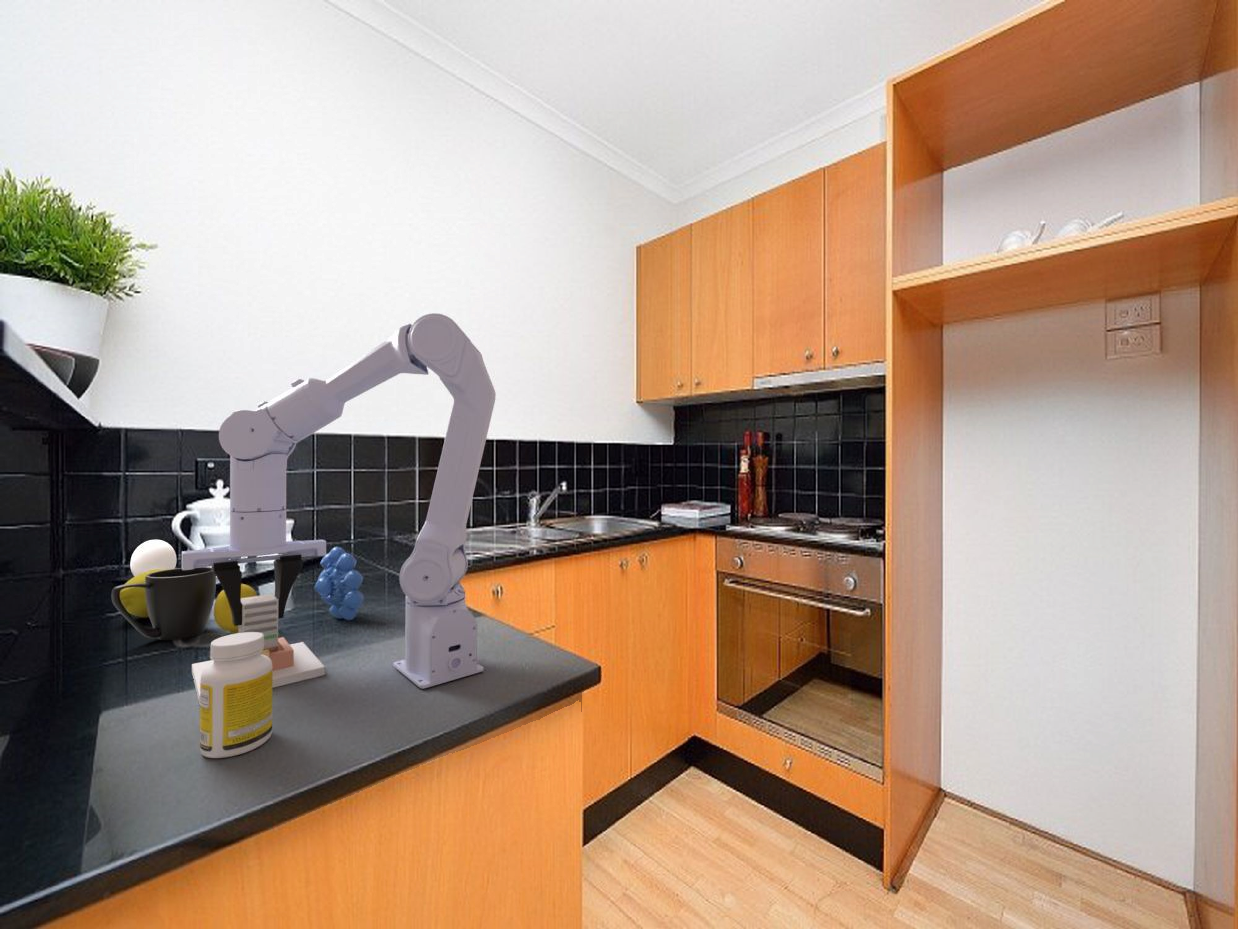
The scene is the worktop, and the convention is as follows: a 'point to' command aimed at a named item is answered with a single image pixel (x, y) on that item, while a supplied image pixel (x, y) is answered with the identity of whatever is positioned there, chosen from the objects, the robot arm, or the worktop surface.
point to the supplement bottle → (236, 696)
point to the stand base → (279, 664)
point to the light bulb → (152, 557)
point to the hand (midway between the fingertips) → (258, 620)
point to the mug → (174, 602)
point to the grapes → (340, 584)
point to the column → (261, 617)
